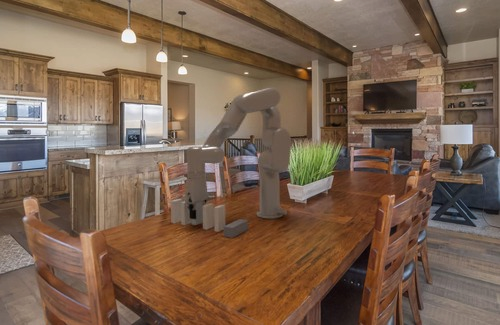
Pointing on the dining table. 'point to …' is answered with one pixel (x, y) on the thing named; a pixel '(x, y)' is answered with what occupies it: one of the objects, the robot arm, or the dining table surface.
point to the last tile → (219, 218)
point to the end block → (235, 228)
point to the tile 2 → (185, 214)
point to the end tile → (176, 211)
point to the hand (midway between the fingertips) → (197, 216)
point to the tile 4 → (208, 216)
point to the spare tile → (198, 214)
